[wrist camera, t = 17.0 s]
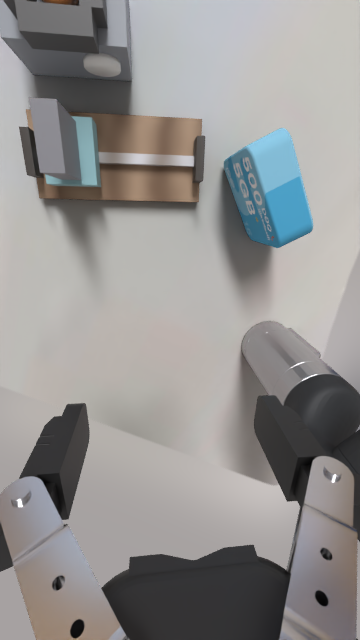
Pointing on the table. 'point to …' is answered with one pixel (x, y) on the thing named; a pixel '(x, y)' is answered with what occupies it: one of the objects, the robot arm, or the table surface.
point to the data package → (270, 190)
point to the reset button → (62, 2)
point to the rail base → (133, 159)
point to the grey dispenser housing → (70, 37)
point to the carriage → (65, 145)
